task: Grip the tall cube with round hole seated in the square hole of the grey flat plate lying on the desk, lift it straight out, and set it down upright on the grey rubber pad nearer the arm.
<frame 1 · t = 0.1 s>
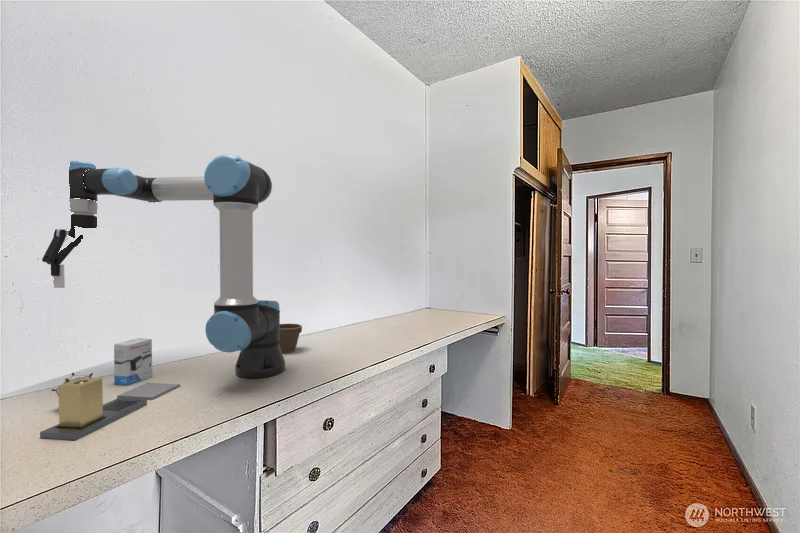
hand: (82, 286, 110), 28 cm above the worktop, fingers open, 13 cm apart
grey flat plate: (98, 419, 83), on the worktop
ink box: (134, 381, 109), on the worktop
game die: (77, 407, 90), on the worktop
pad: (150, 391, 100), on the worktop
cube with round hole: (81, 427, 79), resting in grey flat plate
flower pot: (287, 351, 144), on the worktop
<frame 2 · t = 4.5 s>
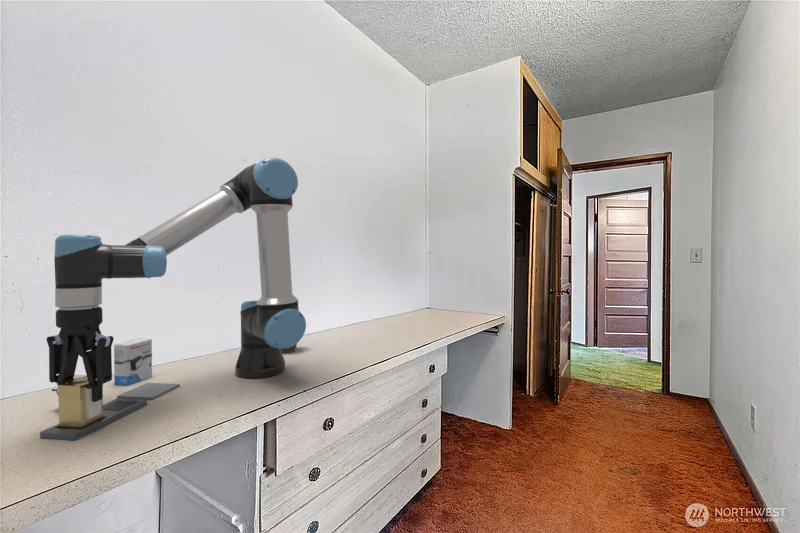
hand: (81, 415, 79), 3 cm above the worktop, fingers closed on cube with round hole, 5 cm apart
cube with round hole: (81, 427, 79), resting in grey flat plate, touching gripper
everything else where it was.
when the fingers open (5 cm above the worktop, at t = 10.6 s): cube with round hole drops 2 cm, resting on pad.
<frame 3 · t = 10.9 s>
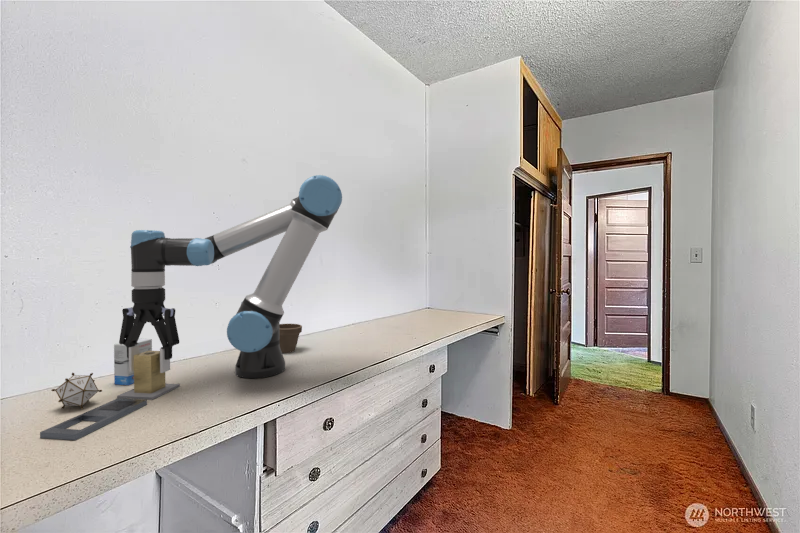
hand: (149, 370, 100), 6 cm above the worktop, fingers open, 8 cm apart
cube with round hole: (150, 389, 100), point 1 cm above the worktop, touching pad
everything else where it was.
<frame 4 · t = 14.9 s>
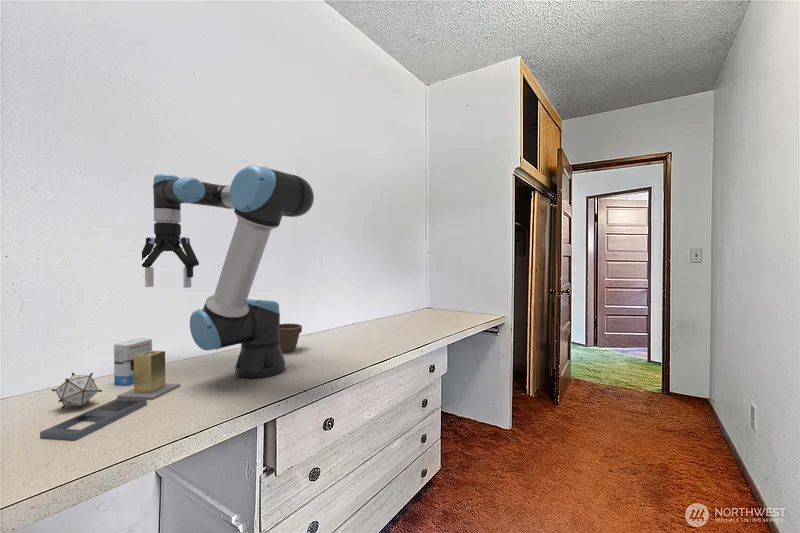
hand: (168, 287, 121), 27 cm above the worktop, fingers open, 13 cm apart
nothing on the worktop moved.
at the end: cube with round hole inside the target area on the pad (0.0 cm from its centre), point 0.6 cm above the pad's base; cube with round hole tilted 0°; the gripper is holding nothing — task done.
